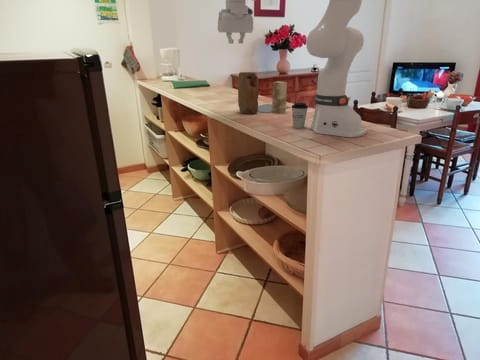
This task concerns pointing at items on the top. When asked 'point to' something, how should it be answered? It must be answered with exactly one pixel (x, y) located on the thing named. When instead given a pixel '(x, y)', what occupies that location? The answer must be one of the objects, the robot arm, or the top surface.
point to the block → (248, 92)
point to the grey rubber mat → (266, 108)
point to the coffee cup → (299, 114)
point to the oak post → (279, 97)
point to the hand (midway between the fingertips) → (236, 43)
